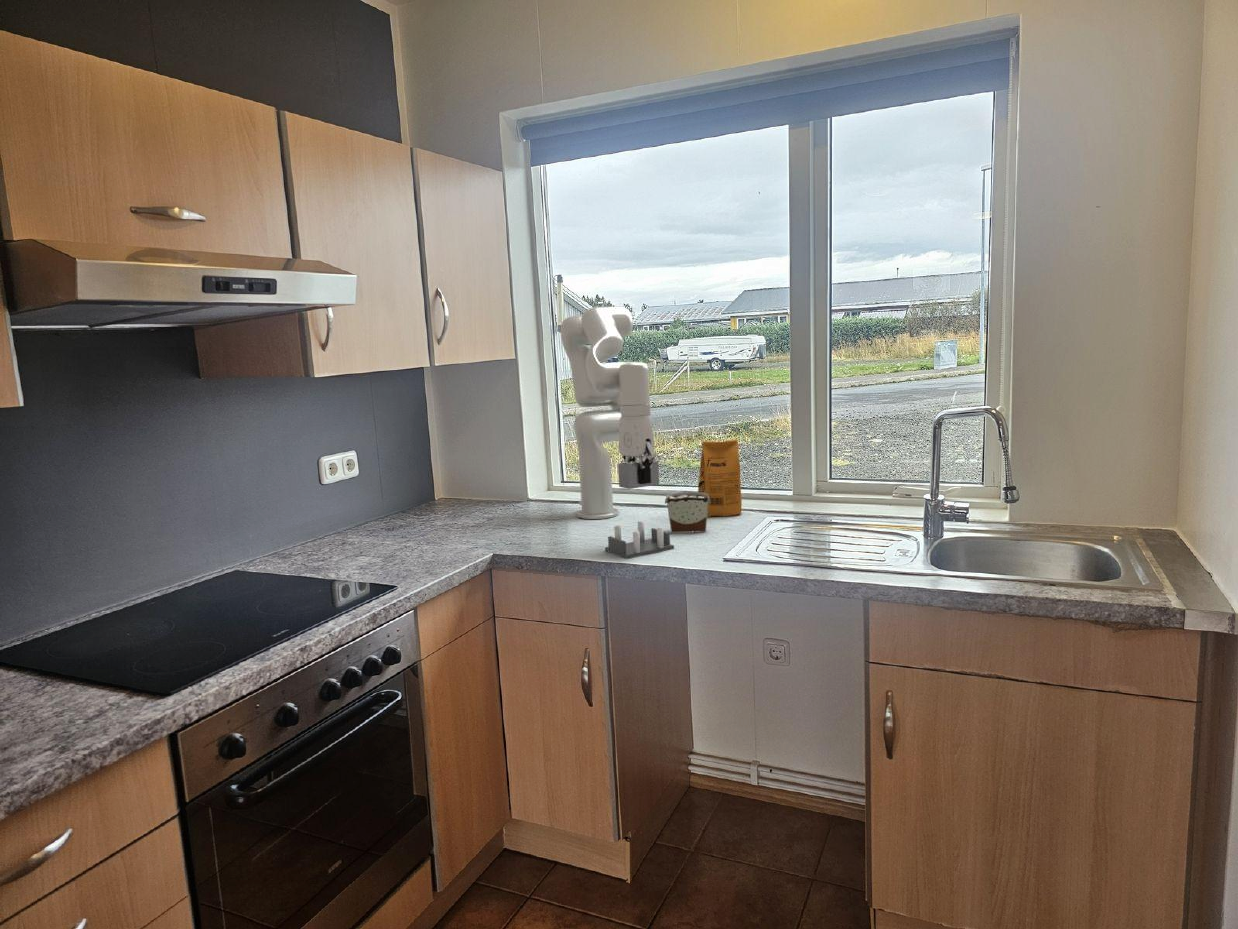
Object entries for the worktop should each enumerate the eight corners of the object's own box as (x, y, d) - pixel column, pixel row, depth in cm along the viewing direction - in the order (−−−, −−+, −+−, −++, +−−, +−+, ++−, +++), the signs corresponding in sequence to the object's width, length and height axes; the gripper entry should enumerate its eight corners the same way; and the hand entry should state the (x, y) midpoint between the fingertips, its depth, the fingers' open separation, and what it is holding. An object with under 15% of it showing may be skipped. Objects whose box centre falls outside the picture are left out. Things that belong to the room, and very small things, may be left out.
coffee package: (697, 511, 244) (695, 439, 241) (738, 509, 244) (736, 437, 241) (701, 518, 234) (698, 443, 231) (743, 516, 234) (742, 441, 231)
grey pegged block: (605, 550, 202) (603, 527, 202) (651, 541, 210) (650, 519, 209) (626, 558, 194) (625, 535, 193) (674, 548, 201) (673, 525, 200)
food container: (711, 526, 223) (710, 491, 222) (711, 531, 217) (710, 495, 216) (666, 527, 224) (665, 492, 223) (665, 532, 218) (664, 496, 217)
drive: (619, 486, 207) (618, 462, 206) (648, 482, 212) (647, 458, 211) (629, 488, 203) (628, 464, 202) (659, 484, 207) (658, 460, 206)
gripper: (605, 411, 210) (609, 480, 212) (642, 413, 195) (645, 488, 198) (629, 409, 214) (632, 477, 216) (667, 411, 199) (670, 484, 202)
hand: (638, 481), depth 207 cm, fingers closed on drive, 5 cm apart
